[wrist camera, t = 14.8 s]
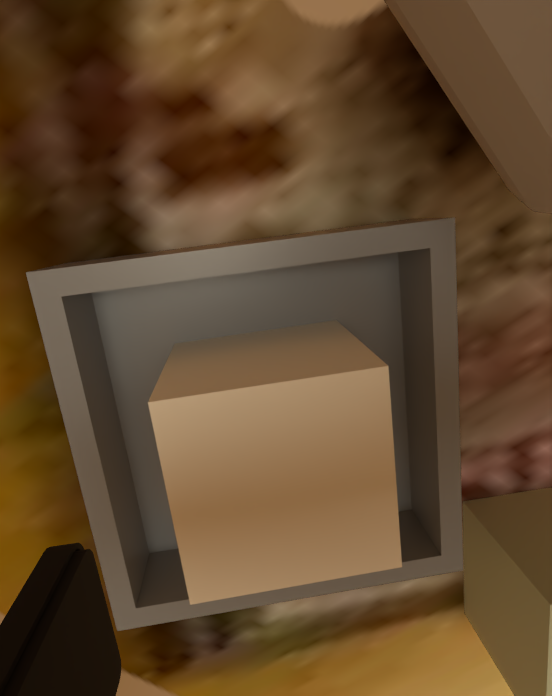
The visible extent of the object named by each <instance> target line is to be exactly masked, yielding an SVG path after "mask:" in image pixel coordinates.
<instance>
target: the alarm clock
mask: <svg viewBox="0 0 552 696" xmlns="http://www.w3.org/2000/svg"><path fill="white" fill-rule="evenodd" d="M384 1H385V3H386V4H387V6H388V7H389V9H390V10H391V12H392V13H393V15H394V16H395V18H396V19H397V21H398V22H399V24H400V25H401V27H402V28H403V30H404V31H405V33H406V35H407V36H408V38H409V39H410V41H411V42H412V44H413V45H414V47H415V48H416V50H417V51H418V53H419V54H420V56H421V57H422V59H423V60H424V62H425V63H426V65H427V66H428V68H429V69H430V71H431V73H432V74H433V76H434V77H435V79H436V80H437V82H438V83H439V85H440V86H441V88H442V89H443V91H444V92H445V94H446V95H447V97H448V98H449V100H450V101H451V103H452V104H453V106H454V108H455V109H456V111H457V112H458V114H459V115H460V117H461V118H462V120H463V121H464V123H465V124H466V126H467V127H468V129H469V130H470V132H471V133H472V135H473V136H474V138H475V139H476V141H477V143H478V144H479V146H480V147H481V149H482V150H483V152H484V153H485V155H486V156H487V158H488V159H489V161H490V162H491V164H492V165H493V167H494V168H495V170H496V171H497V173H498V174H499V176H500V177H501V179H502V181H503V182H504V184H505V185H506V187H507V188H508V190H510V191H511V192H512V193H513V194H514V195H515V196H516V197H517V198H518V199H520V200H521V201H522V202H523V203H524V204H525V205H526V206H527V207H528V208H530V209H531V210H533V211H535V212H542V213H550V214H552V0H384Z"/></svg>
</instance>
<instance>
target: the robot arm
mask: <svg viewBox="0 0 552 696" xmlns="http://www.w3.org/2000/svg"><path fill="white" fill-rule="evenodd" d="M120 675H121V659H120V654H119V650H118V646H117V643H116V639H115V635H114V631H113V627H112V623H111V620H110V616H109V612H108V608H107V604H106V601H105V597H104V593H103V589H102V585H101V581H100V578H99V574H98V570H97V566H96V562H95V558H94V555H93V552H92V551H91V550H90V549H87V550H84V548H83V546H82V545H81V544H80V543H74V544H67V545H60V546H53V547H49V548H47V549H46V550H45V552H44V553H43V555H42V556H41V558H40V560H39V561H38V563H37V565H36V566H35V568H34V570H33V571H32V573H31V575H30V576H29V578H28V580H27V581H26V583H25V585H24V586H23V588H22V590H21V591H20V593H19V595H18V596H17V598H16V600H15V601H14V603H13V605H12V606H11V608H10V610H9V611H8V613H7V615H6V616H5V618H4V620H3V621H2V623H1V625H0V696H116V692H117V688H118V684H119V680H120Z"/></svg>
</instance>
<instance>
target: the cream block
mask: <svg viewBox="0 0 552 696" xmlns="http://www.w3.org/2000/svg"><path fill="white" fill-rule="evenodd" d="M148 406H149V410H150V415H151V420H152V425H153V429H154V434H155V439H156V444H157V449H158V453H159V458H160V463H161V468H162V472H163V477H164V482H165V487H166V492H167V496H168V501H169V506H170V511H171V515H172V520H173V525H174V530H175V535H176V539H177V544H178V549H179V554H180V558H181V563H182V568H183V573H184V578H185V582H186V587H187V592H188V597H189V602H190V605H192V604H198V603H203V602H209V601H215V600H220V599H226V598H231V597H237V596H243V595H248V594H254V593H260V592H265V591H271V590H276V589H282V588H288V587H293V586H299V585H305V584H310V583H316V582H321V581H327V580H333V579H338V578H344V577H350V576H355V575H361V574H366V573H372V572H378V571H383V570H389V569H394V568H400V567H402V559H401V544H400V530H399V515H398V500H397V485H396V471H395V456H394V441H393V427H392V412H391V397H390V382H389V368H388V365H387V364H386V363H384V362H383V361H382V360H381V359H380V358H379V357H378V356H377V355H375V354H374V353H373V352H372V351H371V350H370V349H369V348H367V347H366V346H365V345H364V344H363V343H362V342H361V341H359V340H358V339H357V338H356V337H355V336H354V335H353V334H352V333H350V332H349V331H348V330H347V329H346V328H345V327H344V326H342V325H341V324H340V323H339V322H338V321H337V320H334V321H327V322H320V323H313V324H306V325H299V326H292V327H285V328H279V329H272V330H265V331H258V332H251V333H244V334H237V335H230V336H223V337H216V338H209V339H202V340H196V341H189V342H182V343H175V344H174V346H173V348H172V351H171V353H170V355H169V357H168V359H167V362H166V364H165V366H164V368H163V370H162V372H161V375H160V377H159V379H158V381H157V383H156V386H155V388H154V390H153V392H152V394H151V397H150V399H149V401H148Z"/></svg>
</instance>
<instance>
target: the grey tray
mask: <svg viewBox="0 0 552 696" xmlns="http://www.w3.org/2000/svg"><path fill="white" fill-rule="evenodd" d="M26 275H27V279H28V283H29V287H30V291H31V295H32V298H33V302H34V306H35V310H36V314H37V318H38V322H39V326H40V330H41V334H42V338H43V342H44V345H45V349H46V353H47V357H48V361H49V365H50V369H51V373H52V377H53V381H54V385H55V389H56V392H57V396H58V400H59V404H60V408H61V412H62V416H63V420H64V424H65V428H66V432H67V436H68V439H69V443H70V447H71V451H72V455H73V459H74V463H75V467H76V471H77V475H78V479H79V483H80V486H81V490H82V494H83V498H84V502H85V506H86V510H87V514H88V518H89V522H90V526H91V530H92V534H93V537H94V541H95V545H96V549H97V553H98V557H99V561H100V565H101V569H102V573H103V577H104V581H105V584H106V588H107V592H108V596H109V600H110V604H111V608H112V612H113V616H114V620H115V624H116V628H117V631H121V630H126V629H132V628H138V627H143V626H149V625H155V624H160V623H166V622H172V621H178V620H183V619H189V618H195V617H200V616H206V615H212V614H217V613H223V612H229V611H235V610H240V609H246V608H252V607H257V606H263V605H269V604H274V603H280V602H286V601H292V600H297V599H303V598H309V597H314V596H320V595H326V594H331V593H337V592H343V591H349V590H354V589H360V588H366V587H371V586H377V585H383V584H388V583H394V582H400V581H405V580H411V579H417V578H423V577H428V576H434V575H440V574H445V573H451V572H457V571H462V570H463V538H462V495H461V451H460V408H459V364H458V321H457V277H456V234H455V218H427V219H408V220H400V221H393V222H385V223H377V224H369V225H361V226H353V227H346V228H338V229H330V230H322V231H314V232H306V233H298V234H291V235H283V236H275V237H267V238H259V239H251V240H244V241H236V242H228V243H220V244H212V245H204V246H197V247H189V248H181V249H173V250H165V251H157V252H150V253H142V254H134V255H126V256H118V257H110V258H103V259H95V260H87V261H79V262H71V263H65V264H60V265H56V266H52V267H48V268H43V269H39V270H35V271H30V272H26ZM334 320H337V321H338V322H339V323H340V324H341V325H342V326H344V327H345V328H346V329H347V330H348V331H349V332H350V333H352V334H353V335H354V336H355V337H356V338H357V339H358V340H359V341H361V342H362V343H363V344H364V345H365V346H366V347H367V348H369V349H370V350H371V351H372V352H373V353H374V354H375V355H377V356H378V357H379V358H380V359H381V360H382V361H383V362H384V363H386V364H387V365H388V368H389V382H390V397H391V412H392V427H393V441H394V456H395V471H396V485H397V500H398V515H399V530H400V544H401V559H402V567H400V568H394V569H389V570H383V571H378V572H372V573H366V574H361V575H355V576H350V577H344V578H338V579H333V580H327V581H321V582H316V583H310V584H305V585H299V586H293V587H288V588H282V589H276V590H271V591H265V592H260V593H254V594H248V595H243V596H237V597H231V598H226V599H220V600H215V601H209V602H203V603H198V604H192V605H190V602H189V597H188V592H187V587H186V582H185V578H184V573H183V568H182V563H181V558H180V554H179V549H178V544H177V539H176V535H175V530H174V525H173V520H172V515H171V511H170V506H169V501H168V496H167V492H166V487H165V482H164V477H163V472H162V468H161V463H160V458H159V453H158V449H157V444H156V439H155V434H154V429H153V425H152V420H151V415H150V410H149V406H148V401H149V399H150V397H151V394H152V392H153V390H154V388H155V386H156V383H157V381H158V379H159V377H160V375H161V372H162V370H163V368H164V366H165V364H166V362H167V359H168V357H169V355H170V353H171V351H172V348H173V346H174V344H175V343H182V342H189V341H196V340H202V339H209V338H216V337H223V336H230V335H237V334H244V333H251V332H258V331H265V330H272V329H279V328H285V327H292V326H299V325H306V324H313V323H320V322H327V321H334Z"/></svg>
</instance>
